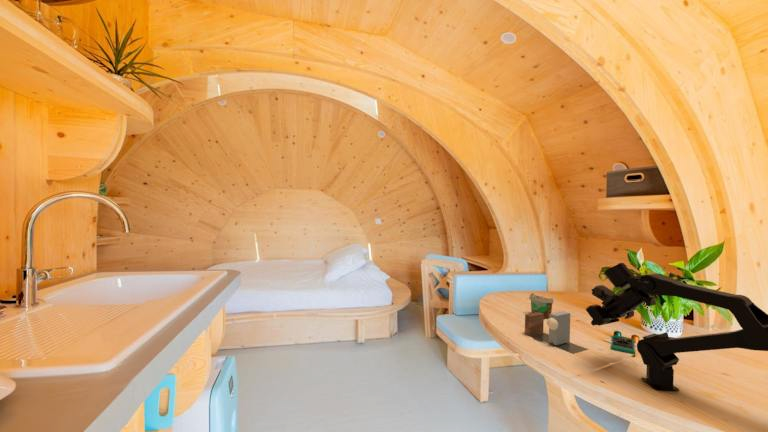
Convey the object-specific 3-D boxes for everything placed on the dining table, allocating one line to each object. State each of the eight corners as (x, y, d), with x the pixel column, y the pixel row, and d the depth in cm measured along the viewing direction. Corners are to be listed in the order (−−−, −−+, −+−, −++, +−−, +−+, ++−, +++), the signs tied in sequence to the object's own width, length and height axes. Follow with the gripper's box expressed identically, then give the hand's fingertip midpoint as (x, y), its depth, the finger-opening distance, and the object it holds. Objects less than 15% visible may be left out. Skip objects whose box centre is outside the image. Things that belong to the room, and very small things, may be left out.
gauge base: (588, 352, 124) (588, 349, 124) (570, 357, 120) (571, 354, 119) (536, 332, 144) (536, 329, 144) (519, 336, 139) (520, 333, 139)
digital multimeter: (634, 345, 132) (634, 337, 132) (635, 358, 120) (635, 350, 120) (611, 341, 136) (611, 333, 136) (610, 353, 124) (610, 345, 124)
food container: (523, 313, 170) (523, 293, 170) (532, 312, 172) (532, 292, 172) (544, 321, 159) (544, 299, 158) (553, 319, 161) (553, 298, 161)
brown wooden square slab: (543, 332, 140) (543, 313, 140) (529, 336, 137) (530, 316, 137) (538, 330, 143) (538, 312, 142) (524, 333, 139) (525, 314, 139)
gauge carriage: (571, 342, 129) (572, 313, 129) (554, 346, 125) (555, 317, 125) (557, 337, 135) (558, 309, 134) (541, 341, 130) (541, 312, 130)
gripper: (625, 277, 118) (592, 300, 128) (592, 281, 109) (560, 306, 119) (650, 305, 111) (614, 328, 121) (618, 312, 102) (581, 336, 112)
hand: (592, 324), depth 119 cm, fingers closed
